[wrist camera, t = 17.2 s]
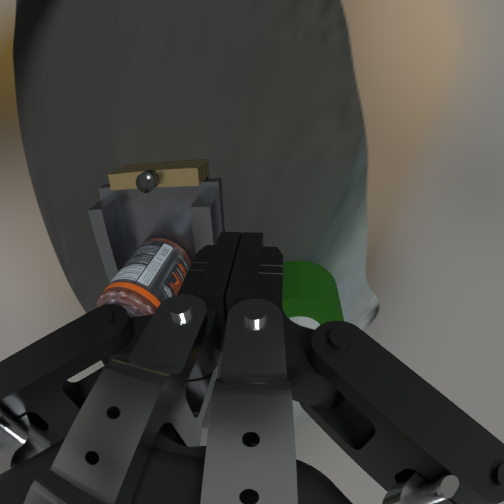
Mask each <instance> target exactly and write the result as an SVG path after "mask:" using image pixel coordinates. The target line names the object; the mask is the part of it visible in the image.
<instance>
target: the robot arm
mask: <svg viewBox="0 0 504 504" xmlns="http://www.w3.org/2000/svg"><path fill="white" fill-rule="evenodd" d="M282 293H283V255H282V253H281V252H280V250H279V249H278V248H277V247H263V233H248V232H243V233H241V232H221V233H220V235H219V238H218V240H217V242H216V245H206V246H204V247H203V248H202V249H201V250H199V251H198V252H197V253H196V255H195V258H194V260H193V263H192V264H191V266H190V268H189V270H188V272H187V274H186V276H185V279H184V281H183V283H182V285H181V287H180V289H179V291H178V294H177V295H175V296H172V297H170V298H168V299H166V300H164V301H163V302H162V303H161V304H160V305H159V306H158V308H157V309H156V311H155V313H154V314H152V315H146V316H138V317H129V315H128V312H127V310H126V309H125V308H124V307H122V306H121V305H118V304H106V305H103V306H100V307H98V308H96V309H94V310H92V311H90V312H88V313H87V314H85V315H83V316H81V317H79V318H78V319H76V320H74V321H72V322H70V323H68V324H66V325H65V326H63V327H61V328H59V329H57V330H56V331H54V332H52V333H50V334H48V335H47V336H45V337H43V338H41V339H40V340H38V341H36V342H34V343H32V344H31V345H29V346H27V347H25V348H24V349H22V350H20V351H18V352H17V353H15V354H13V355H11V356H10V357H8V358H6V359H5V360H3V361H1V362H0V504H352V503H351V502H350V501H349V500H348V498H347V497H346V496H345V495H344V494H343V493H342V492H341V491H340V490H339V489H338V488H337V487H336V486H335V485H334V483H333V482H332V481H331V480H329V478H327V477H326V476H325V475H324V474H323V473H321V472H320V471H318V470H317V469H315V468H314V467H312V466H310V465H308V464H306V463H304V462H302V461H299V460H297V459H296V452H295V435H294V418H293V403H292V400H295V401H298V402H300V405H301V407H302V408H303V409H304V410H305V411H306V412H307V413H308V415H309V416H310V417H311V418H312V419H313V420H314V421H315V422H316V423H317V424H318V425H319V426H320V427H321V428H322V429H323V430H324V431H325V432H326V433H327V434H328V435H329V436H330V437H331V438H332V439H333V440H334V441H335V442H336V443H337V444H338V445H339V446H340V447H341V448H342V449H343V450H344V451H345V452H346V453H347V454H348V455H349V456H350V457H351V458H352V459H353V460H354V461H355V462H356V463H357V464H358V465H359V466H360V467H361V468H362V469H363V470H364V471H366V472H367V473H368V474H369V475H370V476H371V477H372V478H373V479H374V480H375V481H376V482H377V483H378V484H380V485H381V486H382V487H383V488H384V489H385V490H386V491H387V494H386V495H385V497H384V499H383V503H382V504H498V503H500V502H502V501H504V444H503V443H502V442H501V441H500V440H498V439H497V438H496V437H495V436H493V435H492V434H491V433H490V432H488V431H487V430H486V429H485V428H484V427H482V426H481V425H480V424H479V423H478V422H476V421H475V420H474V419H472V418H471V417H470V416H469V415H468V414H466V413H465V412H464V411H463V410H461V409H460V408H459V407H458V406H456V405H455V404H454V403H453V402H451V401H450V400H449V399H448V398H446V397H445V396H444V395H443V394H441V393H440V392H439V391H438V390H436V389H435V388H434V387H433V386H431V385H430V384H429V383H428V382H426V381H425V380H424V379H423V378H421V377H420V376H419V375H418V374H416V373H415V372H414V371H413V370H411V369H410V368H409V367H408V366H406V365H405V364H404V363H402V362H401V361H400V360H399V359H397V358H396V357H395V356H394V355H393V354H391V353H390V352H389V351H387V350H386V349H385V348H383V347H382V346H381V345H380V344H379V343H377V342H376V341H375V340H374V339H372V338H371V337H370V336H368V335H367V334H366V333H365V332H363V331H362V330H361V329H360V328H358V327H357V326H355V325H353V324H351V323H348V322H345V321H329V322H326V323H323V324H321V325H320V326H318V327H317V328H316V329H315V330H314V329H311V328H307V327H304V326H301V325H298V324H296V323H294V322H293V321H291V320H290V319H289V318H288V317H287V316H286V314H285V313H284V311H283V307H282ZM220 352H223V355H222V364H221V372H220V378H219V379H217V380H216V381H215V379H216V376H217V373H218V367H217V364H218V359H219V355H220ZM100 360H101V361H102V362H103V364H104V365H105V366H104V367H102V368H100V369H99V370H97V371H95V372H94V373H92V374H90V375H89V376H87V377H85V378H83V379H82V380H80V381H78V382H74V383H73V382H69V381H67V379H69V378H71V377H72V376H74V375H76V374H78V373H79V372H81V371H83V370H85V369H86V368H88V367H90V366H91V365H93V364H95V363H97V362H98V361H100ZM214 383H215V384H214ZM213 386H214V388H213ZM212 389H213V395H212V403H211V412H210V420H209V428H208V438H207V446H200V442H201V427H202V421H203V418H204V414H205V411H206V408H207V405H208V402H209V399H210V395H211V392H212Z"/></svg>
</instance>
